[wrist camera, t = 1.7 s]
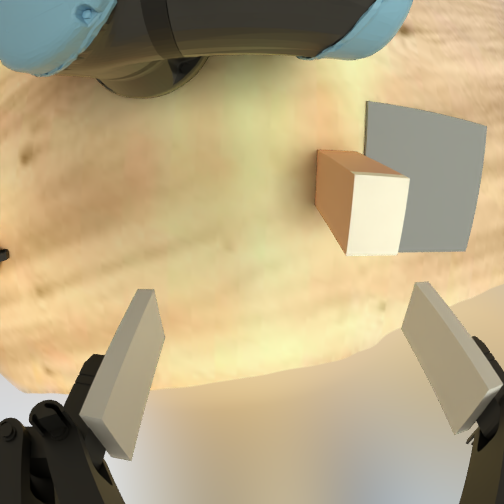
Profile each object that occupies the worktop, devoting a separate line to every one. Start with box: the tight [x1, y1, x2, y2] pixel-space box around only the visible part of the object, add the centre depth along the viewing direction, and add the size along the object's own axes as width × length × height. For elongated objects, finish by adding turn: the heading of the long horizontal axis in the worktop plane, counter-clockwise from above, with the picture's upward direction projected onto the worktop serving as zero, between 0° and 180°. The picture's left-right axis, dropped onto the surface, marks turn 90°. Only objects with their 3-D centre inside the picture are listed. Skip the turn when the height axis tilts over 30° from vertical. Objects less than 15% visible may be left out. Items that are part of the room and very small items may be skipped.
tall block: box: [315, 150, 410, 256], centre depth 30 cm, size 7×5×14 cm
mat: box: [364, 101, 487, 252], centre depth 36 cm, size 20×20×1 cm
